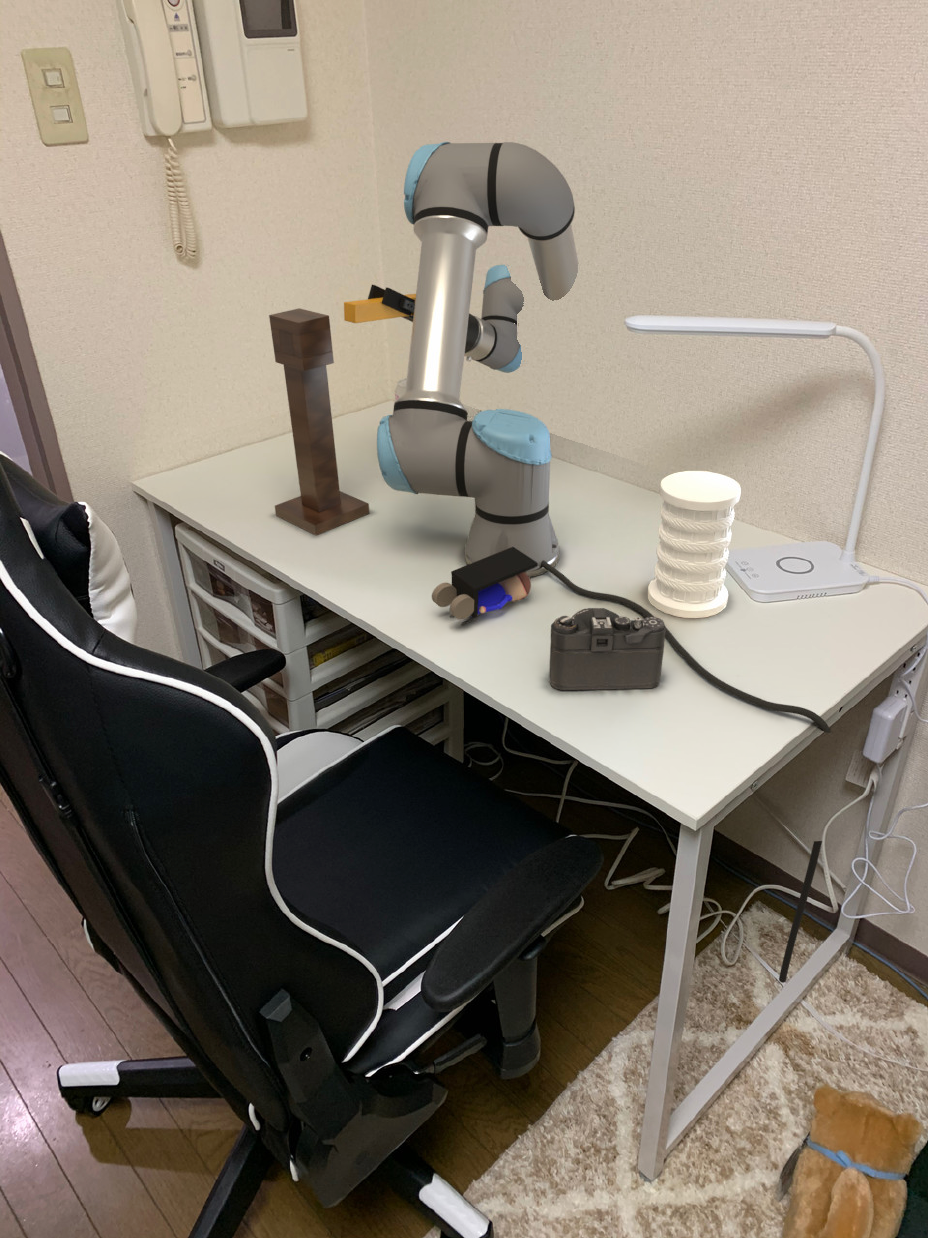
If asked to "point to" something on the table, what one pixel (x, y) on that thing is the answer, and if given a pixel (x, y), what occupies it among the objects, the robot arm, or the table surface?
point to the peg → (371, 310)
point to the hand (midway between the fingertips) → (378, 294)
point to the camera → (605, 651)
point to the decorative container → (693, 543)
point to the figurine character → (486, 584)
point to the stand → (311, 422)
